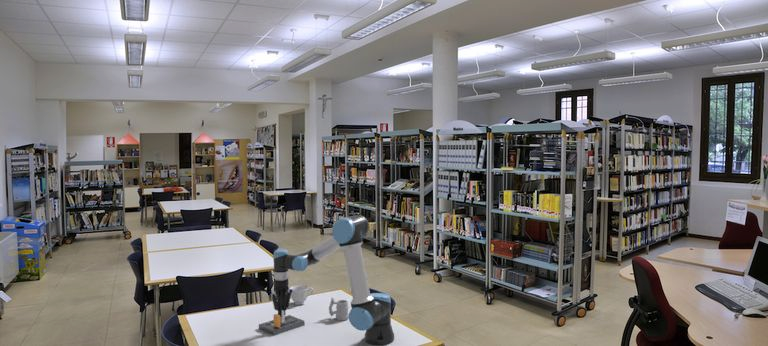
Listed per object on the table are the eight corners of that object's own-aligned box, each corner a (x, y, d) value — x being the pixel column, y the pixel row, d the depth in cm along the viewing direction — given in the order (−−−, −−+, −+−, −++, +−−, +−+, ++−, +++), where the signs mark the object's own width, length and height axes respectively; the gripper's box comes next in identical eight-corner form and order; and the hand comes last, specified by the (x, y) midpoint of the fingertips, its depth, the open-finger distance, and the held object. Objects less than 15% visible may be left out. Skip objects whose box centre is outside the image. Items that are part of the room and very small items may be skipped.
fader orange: (280, 326, 250) (280, 315, 250) (277, 327, 249) (277, 316, 248) (276, 324, 252) (276, 313, 252) (273, 325, 251) (273, 314, 251)
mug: (347, 321, 265) (347, 300, 265) (327, 320, 267) (327, 299, 266) (350, 316, 273) (350, 296, 272) (330, 315, 274) (330, 295, 274)
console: (304, 325, 259) (304, 320, 259) (273, 335, 245) (273, 330, 245) (289, 319, 269) (289, 314, 269) (258, 329, 254) (258, 324, 254)
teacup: (313, 305, 292) (313, 289, 292) (289, 307, 290) (288, 291, 290) (313, 299, 304) (313, 284, 304) (290, 300, 302) (290, 285, 302)
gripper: (287, 275, 259) (288, 317, 260) (266, 279, 250) (267, 323, 251) (295, 277, 254) (296, 320, 255) (274, 282, 244) (275, 327, 245)
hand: (281, 322), depth 253 cm, fingers closed
